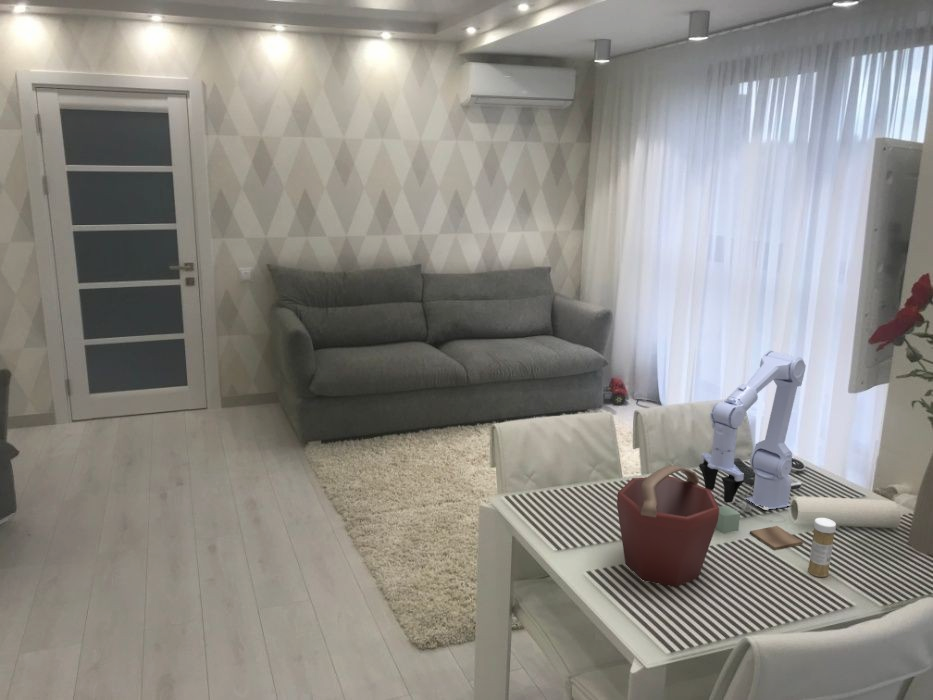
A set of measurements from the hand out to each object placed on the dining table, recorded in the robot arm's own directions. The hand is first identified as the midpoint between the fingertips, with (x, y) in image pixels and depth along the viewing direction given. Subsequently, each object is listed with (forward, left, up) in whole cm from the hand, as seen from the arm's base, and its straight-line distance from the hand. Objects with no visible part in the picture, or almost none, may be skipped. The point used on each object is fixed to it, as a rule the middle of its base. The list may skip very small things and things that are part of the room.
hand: (718, 495), depth 197 cm
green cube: (-1, +2, -9) cm, 9 cm away
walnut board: (-10, +11, -9) cm, 17 cm away
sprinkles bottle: (-7, +28, -9) cm, 30 cm away
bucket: (+27, +13, -9) cm, 31 cm away
